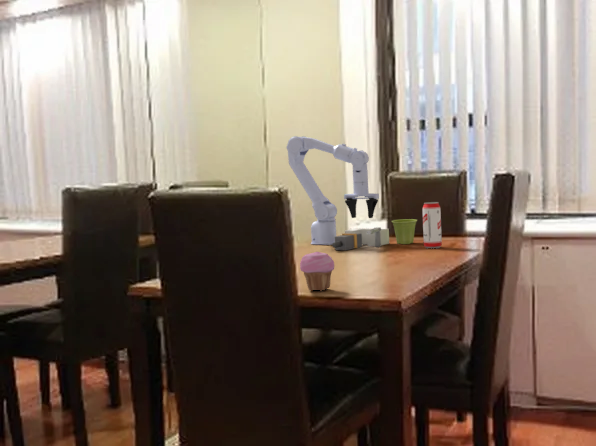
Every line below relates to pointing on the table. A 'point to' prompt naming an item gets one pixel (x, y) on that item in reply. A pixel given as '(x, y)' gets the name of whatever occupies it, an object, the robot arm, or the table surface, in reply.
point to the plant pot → (404, 230)
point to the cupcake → (317, 270)
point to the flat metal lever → (374, 230)
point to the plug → (347, 241)
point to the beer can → (432, 225)
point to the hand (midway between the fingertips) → (362, 217)
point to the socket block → (372, 236)
